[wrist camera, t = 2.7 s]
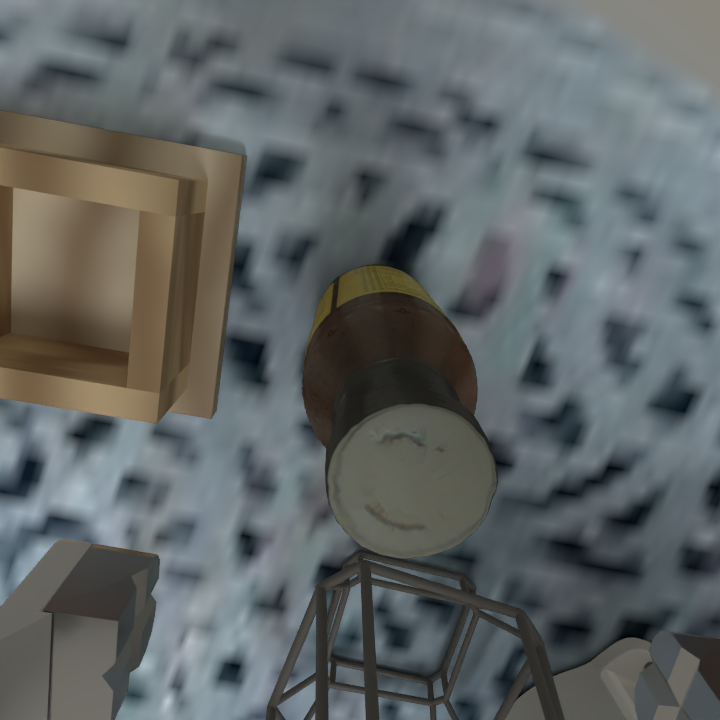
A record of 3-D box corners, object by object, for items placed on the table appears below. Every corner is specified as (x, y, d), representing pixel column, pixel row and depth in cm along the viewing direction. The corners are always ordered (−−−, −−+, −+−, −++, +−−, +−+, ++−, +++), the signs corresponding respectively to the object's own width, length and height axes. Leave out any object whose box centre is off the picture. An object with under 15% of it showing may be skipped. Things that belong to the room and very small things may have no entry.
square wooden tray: (246, 156, 31) (218, 149, 25) (216, 411, 34) (185, 457, 28) (-34, 104, 30) (-132, 83, 24) (-33, 369, 34) (-117, 408, 28)
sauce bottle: (363, 393, 34) (364, 656, 15) (294, 305, 33) (200, 471, 14) (457, 327, 33) (589, 521, 14) (391, 233, 32) (436, 306, 13)
